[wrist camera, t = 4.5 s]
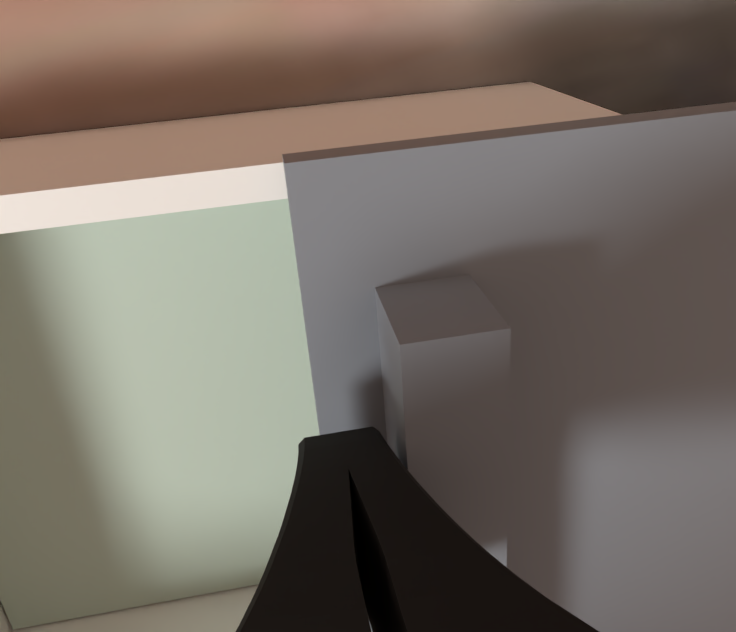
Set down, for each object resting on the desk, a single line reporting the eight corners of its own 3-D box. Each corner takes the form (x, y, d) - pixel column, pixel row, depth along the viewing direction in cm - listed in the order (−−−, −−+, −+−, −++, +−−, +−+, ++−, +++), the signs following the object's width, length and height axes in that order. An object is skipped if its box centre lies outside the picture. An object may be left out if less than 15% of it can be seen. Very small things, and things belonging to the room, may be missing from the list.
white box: (518, 530, 23) (586, 665, 18) (4, 625, 21) (-59, 801, 16) (530, 81, 16) (638, 120, 12) (-205, 161, 14) (-402, 242, 10)
